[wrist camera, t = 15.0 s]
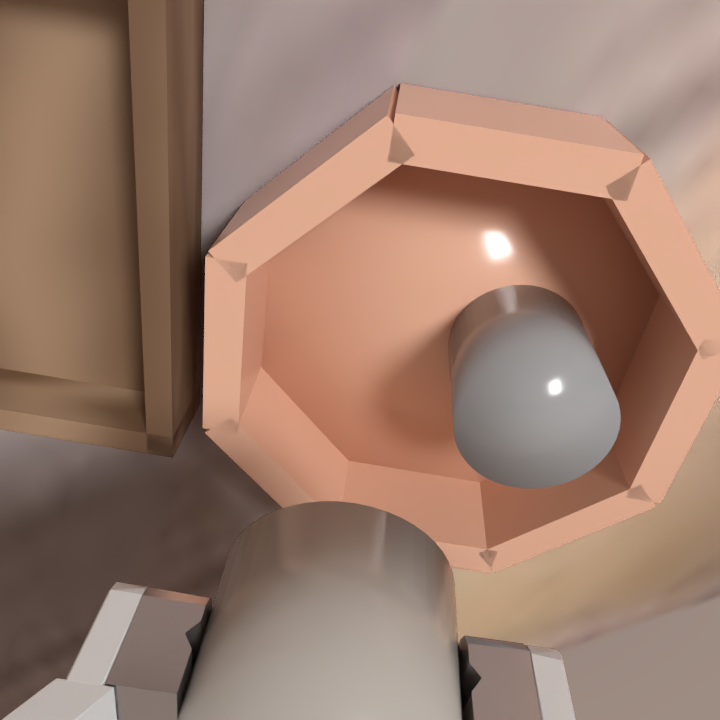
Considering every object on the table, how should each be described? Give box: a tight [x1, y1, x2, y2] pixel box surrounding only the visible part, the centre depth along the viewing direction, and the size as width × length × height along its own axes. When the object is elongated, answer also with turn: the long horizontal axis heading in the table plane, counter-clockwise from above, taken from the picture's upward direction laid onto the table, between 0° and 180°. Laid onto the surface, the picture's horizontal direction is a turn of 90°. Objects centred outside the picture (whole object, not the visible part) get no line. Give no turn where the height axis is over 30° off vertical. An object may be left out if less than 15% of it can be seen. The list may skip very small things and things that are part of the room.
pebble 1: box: [177, 501, 463, 720], centre depth 10 cm, size 4×4×4 cm
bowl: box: [203, 83, 720, 573], centre depth 18 cm, size 13×13×4 cm
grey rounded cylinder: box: [448, 285, 621, 489], centre depth 18 cm, size 4×4×4 cm
